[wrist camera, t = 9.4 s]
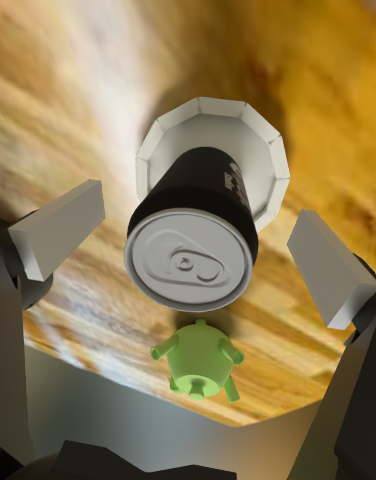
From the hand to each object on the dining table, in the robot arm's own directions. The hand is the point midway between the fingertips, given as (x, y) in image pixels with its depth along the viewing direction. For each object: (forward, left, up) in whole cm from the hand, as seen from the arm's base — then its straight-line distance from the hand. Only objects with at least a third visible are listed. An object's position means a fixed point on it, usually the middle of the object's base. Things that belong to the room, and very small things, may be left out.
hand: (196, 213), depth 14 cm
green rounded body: (+3, -23, -7) cm, 24 cm away
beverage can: (0, 0, -6) cm, 6 cm away
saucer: (0, 0, -7) cm, 7 cm away
